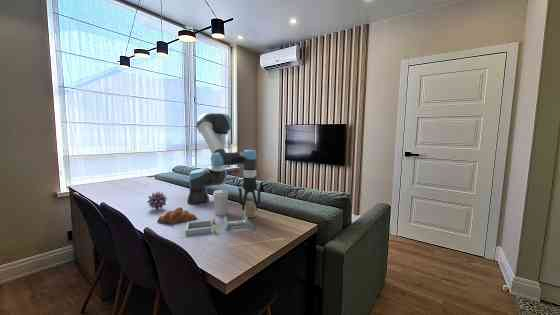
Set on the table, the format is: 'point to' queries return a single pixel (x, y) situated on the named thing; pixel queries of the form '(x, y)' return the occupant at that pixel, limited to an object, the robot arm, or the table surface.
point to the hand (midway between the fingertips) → (249, 214)
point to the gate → (235, 222)
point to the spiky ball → (157, 200)
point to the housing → (211, 228)
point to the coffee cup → (220, 201)
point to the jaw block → (250, 209)
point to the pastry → (176, 217)
